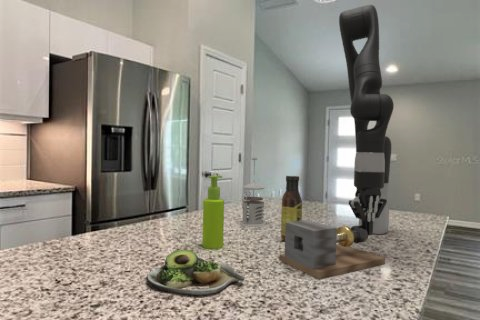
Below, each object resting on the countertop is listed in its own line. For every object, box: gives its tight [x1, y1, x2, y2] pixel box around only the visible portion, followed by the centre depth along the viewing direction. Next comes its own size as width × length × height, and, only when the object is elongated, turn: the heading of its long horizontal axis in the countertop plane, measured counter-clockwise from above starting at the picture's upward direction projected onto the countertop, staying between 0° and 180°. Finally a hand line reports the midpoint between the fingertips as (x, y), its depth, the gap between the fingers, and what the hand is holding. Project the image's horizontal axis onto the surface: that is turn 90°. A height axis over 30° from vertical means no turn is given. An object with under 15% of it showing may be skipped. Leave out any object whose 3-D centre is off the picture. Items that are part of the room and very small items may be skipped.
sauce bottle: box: [280, 175, 303, 242], centre depth 105 cm, size 7×6×20 cm
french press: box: [239, 156, 267, 228], centre depth 126 cm, size 10×12×25 cm
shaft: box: [299, 224, 369, 248], centre depth 85 cm, size 20×5×5 cm, turn 121°
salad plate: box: [146, 249, 246, 296], centre depth 72 cm, size 19×18×5 cm
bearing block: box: [278, 219, 386, 280], centre depth 85 cm, size 22×14×10 cm, turn 121°
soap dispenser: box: [201, 174, 225, 250], centre depth 97 cm, size 6×7×20 cm
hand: (366, 234), depth 91 cm, fingers closed
